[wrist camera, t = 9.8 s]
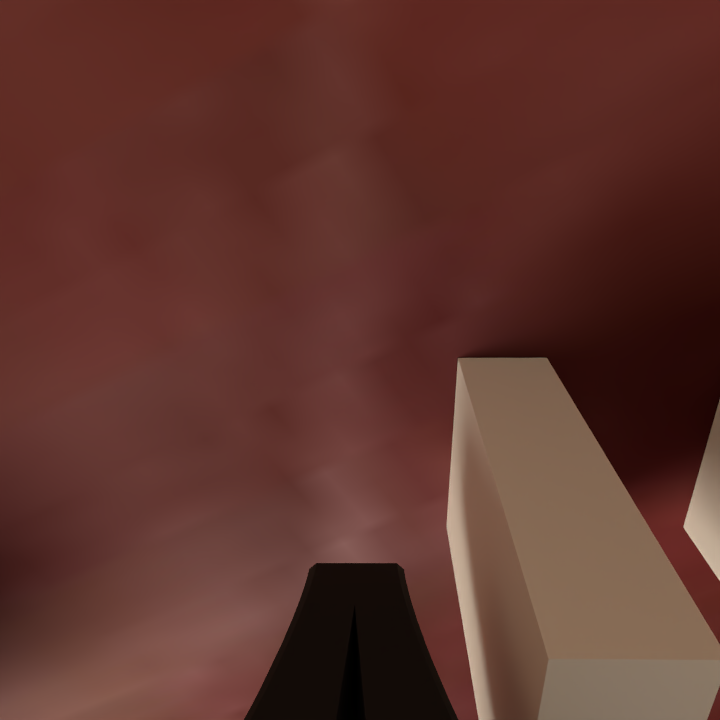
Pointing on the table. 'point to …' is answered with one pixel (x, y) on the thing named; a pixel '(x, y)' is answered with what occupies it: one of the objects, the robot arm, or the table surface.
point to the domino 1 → (562, 565)
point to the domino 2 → (707, 502)
